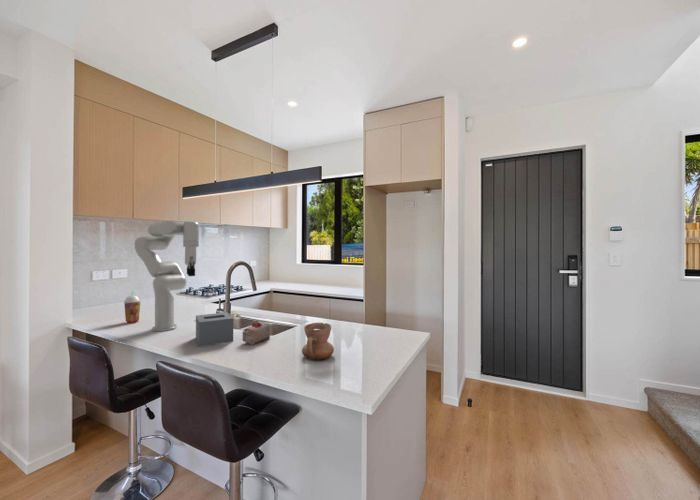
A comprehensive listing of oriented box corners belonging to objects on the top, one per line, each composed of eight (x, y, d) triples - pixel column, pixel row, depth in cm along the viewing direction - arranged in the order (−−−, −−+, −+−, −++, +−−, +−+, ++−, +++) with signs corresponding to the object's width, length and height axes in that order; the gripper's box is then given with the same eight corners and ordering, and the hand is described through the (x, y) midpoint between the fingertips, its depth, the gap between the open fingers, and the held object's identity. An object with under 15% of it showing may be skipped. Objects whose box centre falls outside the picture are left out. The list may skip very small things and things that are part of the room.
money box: (195, 337, 161) (195, 315, 161) (227, 333, 170) (227, 312, 170) (199, 346, 148) (199, 322, 148) (233, 341, 156) (233, 318, 156)
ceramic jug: (313, 348, 147) (312, 319, 147) (340, 352, 142) (339, 322, 141) (293, 362, 131) (292, 330, 130) (322, 367, 125) (322, 333, 125)
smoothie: (120, 323, 187) (120, 291, 186) (132, 320, 195) (132, 289, 194) (132, 324, 185) (132, 292, 185) (143, 321, 193) (143, 290, 193)
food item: (252, 346, 149) (252, 326, 149) (240, 343, 153) (241, 324, 152) (271, 338, 161) (271, 320, 161) (260, 336, 165) (260, 318, 165)
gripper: (182, 244, 170) (182, 274, 170) (184, 244, 155) (184, 277, 155) (196, 244, 174) (196, 273, 174) (200, 244, 159) (200, 276, 159)
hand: (190, 275), depth 165 cm, fingers open, 9 cm apart
